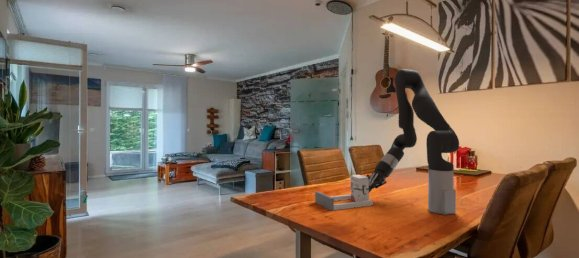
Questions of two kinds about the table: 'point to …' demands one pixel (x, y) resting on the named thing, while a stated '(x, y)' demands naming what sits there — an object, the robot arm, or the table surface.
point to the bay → (329, 201)
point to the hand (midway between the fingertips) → (365, 192)
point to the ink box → (359, 188)
